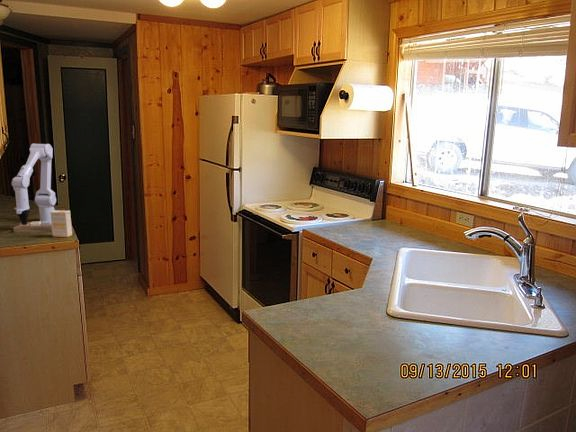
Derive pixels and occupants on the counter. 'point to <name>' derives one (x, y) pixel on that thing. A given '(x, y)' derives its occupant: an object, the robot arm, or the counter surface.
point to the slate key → (46, 223)
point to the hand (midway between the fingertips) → (24, 224)
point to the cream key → (35, 223)
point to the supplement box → (61, 223)
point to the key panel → (32, 228)
